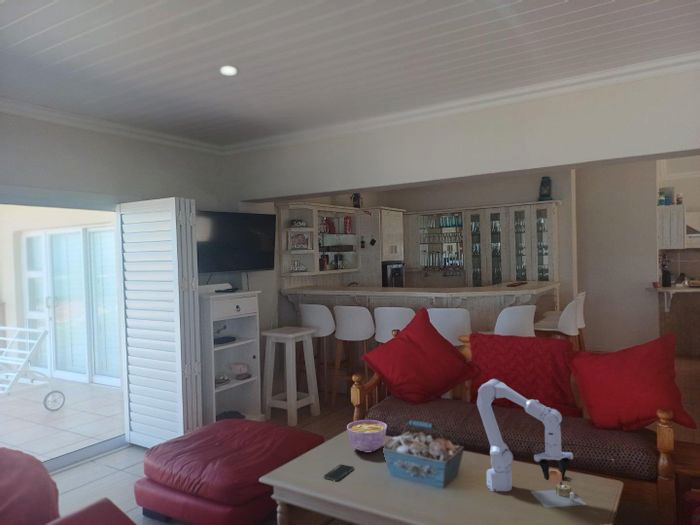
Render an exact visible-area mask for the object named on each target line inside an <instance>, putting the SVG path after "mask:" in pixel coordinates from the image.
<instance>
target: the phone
mask: <svg viewBox="0 0 700 525" xmlns="http://www.w3.org/2000/svg"><path fill="white" fill-rule="evenodd" d="M353 469H354V470H355V466H351V465H348V464H347V465H346V464H338V465H337V466H336V467H333V468H332V470H330V471H329V472H327V473H326V474H324V475H323V479H324V478H326V479H325V480H328V479H330V480H329V481H332V480H335V481H334V482H339V480H340V481H341V480H342V479H344V478H345V477H346V476H347V474H348V473H349V472H350V473H352V472H353V471H354V470H353ZM352 470H353V471H352ZM351 471H352V472H351ZM350 473H349V474H350ZM349 474H348V475H349ZM344 476H345V477H344ZM343 477H344V478H343Z"/></svg>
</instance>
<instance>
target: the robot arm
mask: <svg viewBox="0 0 700 525" xmlns="http://www.w3.org/2000/svg"><path fill="white" fill-rule="evenodd" d="M477 393H478V394H477V400H476V406H477V409H478V411H479V412H478V413H479V414H480V418H481V420H482V425H483V427H484V430H485V433H486V436H487V440H488V442H489V446H490V450H489V454H490V455H489V456H490V465H491V468H489V469H488V468H487V469H486V474H485V475H486V486H487V488H488V489H489V490H490V491H491V492H509V491H511V490H512V489H513V482H512V481H513V480H512V478H513V477H512V476H513V474H512V466H511V464H512V462H513V461H514V455H513V453H512V452H511V450H510V449H509V447H508V445H507V444H506V443H505V442H504V440H503V437H502V434H501V431H500V429H499V425H498V422H497V419H496V416H495V413H494V411H493V407H492V403H493V401H494V400H495V399H501V398H506V399H507V400H510V401H511V402H513V403H515V404H517V405H519V406H521V407H523V409H524V411H525V413H526V414H528V415H530V416H532V417H534V418H535V419H537V420H538V421H541V422H542V424H543V426H544V450H545V451H544V452H541V453H537V454H534V455H533V460H534V461H535V462H537V463H538V464H539V465H540V467H541V471H542V473H543V477H544V479H545V480H546V481H549V470H550V465H551V464H550V463H549V462H548V461H554V460H555V461H557V463H558V470H559V471H560V472H561V473H562V479H564V480H565V477H566V471H567V469H568V467H569V466H570V464H571V461H570V460H574V453H572V452H570V451H569V452H568V451H567V452H566V451H562V430H561V423H562V421H563V417H562V416H563V415H562V414H561V412H560V411H559V410H557V409H555V408H551V407H549V406H548V407H547V406H546V405H544V404H542V403H540V401H539V400H538V399H532V398H531V399H528V398H526V397H524V396H523V395H521V394H520V393H518V392H517V391H515V390H514V389H512V388H511V387H509V386H507V384H505V383H504V382H502V381H500V380H499V379H497V378H492V379H489V380H488V381H487V382H485V383H482V384H481V386H480V387H479V388H478V389H477ZM569 459H570V460H569ZM564 476H565V477H564Z"/></svg>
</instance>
